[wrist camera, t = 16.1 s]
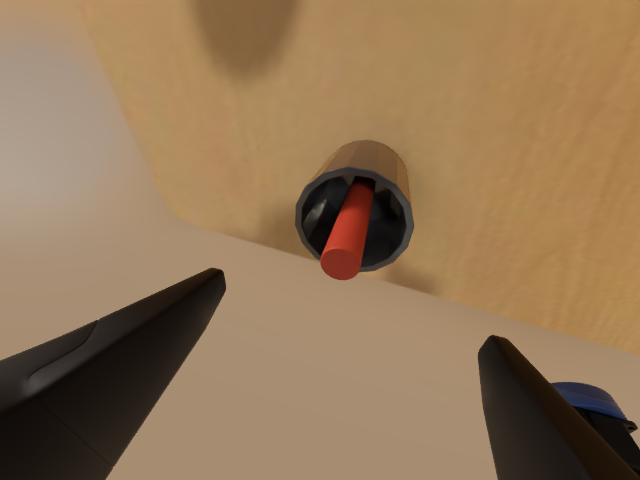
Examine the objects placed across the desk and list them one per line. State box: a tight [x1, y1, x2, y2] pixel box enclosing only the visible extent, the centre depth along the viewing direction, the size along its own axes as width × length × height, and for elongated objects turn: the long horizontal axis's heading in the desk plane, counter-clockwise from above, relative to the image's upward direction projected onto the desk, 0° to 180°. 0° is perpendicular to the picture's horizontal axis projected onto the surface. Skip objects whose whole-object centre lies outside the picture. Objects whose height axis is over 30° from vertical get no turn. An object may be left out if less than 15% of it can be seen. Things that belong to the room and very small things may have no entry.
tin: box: [295, 140, 414, 272], centre depth 15 cm, size 6×6×6 cm
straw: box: [320, 176, 376, 280], centre depth 14 cm, size 2×2×9 cm
